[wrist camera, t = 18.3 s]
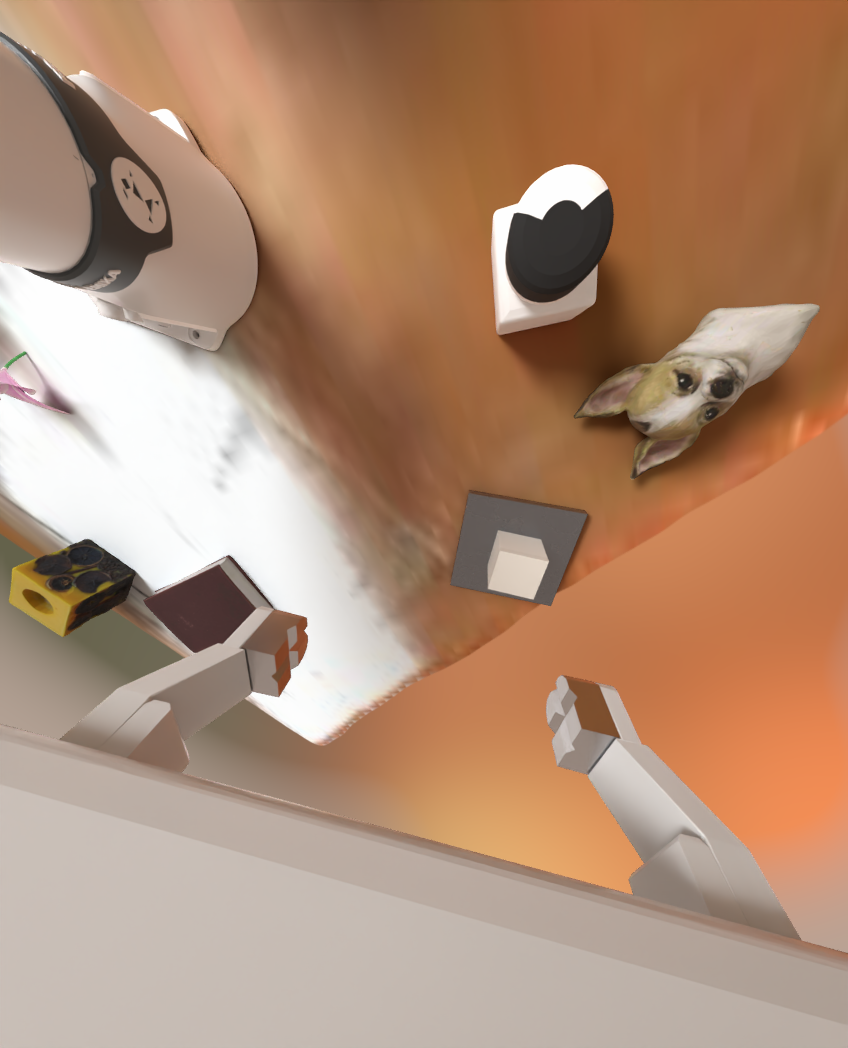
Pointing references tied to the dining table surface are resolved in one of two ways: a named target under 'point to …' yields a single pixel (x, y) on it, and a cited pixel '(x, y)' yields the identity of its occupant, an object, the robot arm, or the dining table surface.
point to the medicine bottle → (550, 249)
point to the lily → (18, 387)
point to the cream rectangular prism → (516, 564)
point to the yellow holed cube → (70, 586)
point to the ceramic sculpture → (699, 377)
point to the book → (207, 604)
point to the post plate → (516, 517)
